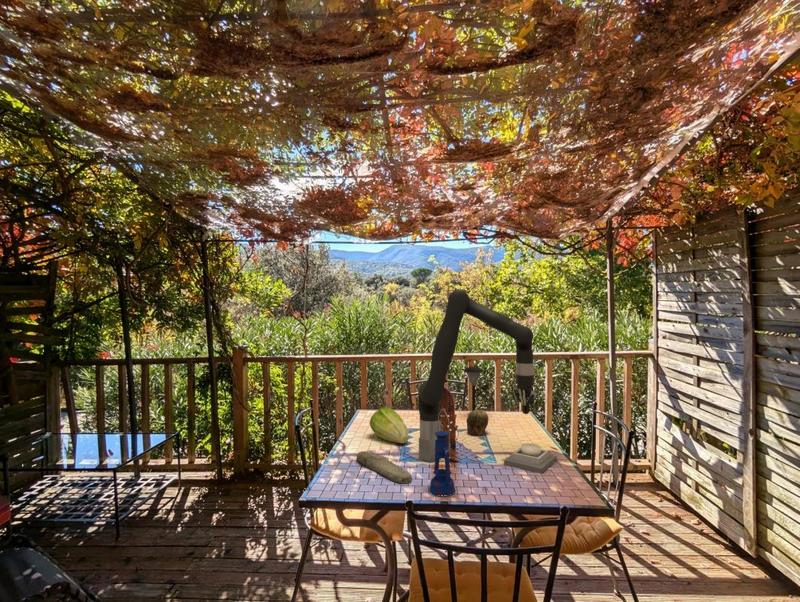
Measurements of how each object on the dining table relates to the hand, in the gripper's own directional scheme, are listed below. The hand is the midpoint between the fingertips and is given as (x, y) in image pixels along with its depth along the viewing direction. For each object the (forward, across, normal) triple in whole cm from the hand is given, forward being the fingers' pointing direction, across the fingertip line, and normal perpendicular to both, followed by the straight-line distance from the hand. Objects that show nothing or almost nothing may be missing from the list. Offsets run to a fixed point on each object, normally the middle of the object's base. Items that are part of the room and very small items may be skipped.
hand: (525, 413), depth 195 cm
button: (+16, -3, 0) cm, 17 cm away
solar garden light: (+20, +60, -15) cm, 66 cm away
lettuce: (+20, +52, +40) cm, 68 cm away
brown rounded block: (+20, +40, -3) cm, 45 cm away
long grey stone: (+20, +18, +60) cm, 65 cm away
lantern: (+20, -10, +48) cm, 53 cm away
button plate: (+20, -3, 0) cm, 20 cm away
